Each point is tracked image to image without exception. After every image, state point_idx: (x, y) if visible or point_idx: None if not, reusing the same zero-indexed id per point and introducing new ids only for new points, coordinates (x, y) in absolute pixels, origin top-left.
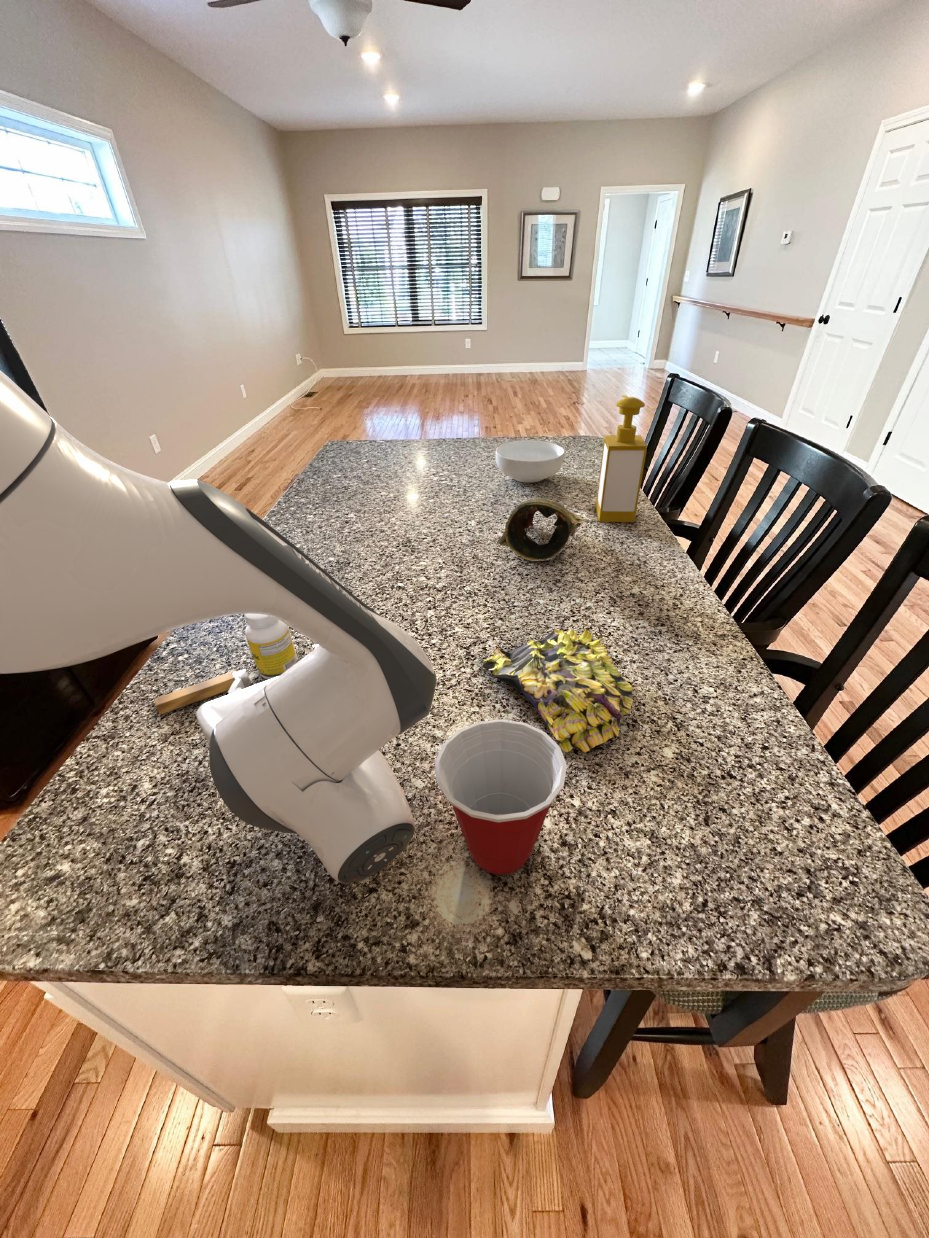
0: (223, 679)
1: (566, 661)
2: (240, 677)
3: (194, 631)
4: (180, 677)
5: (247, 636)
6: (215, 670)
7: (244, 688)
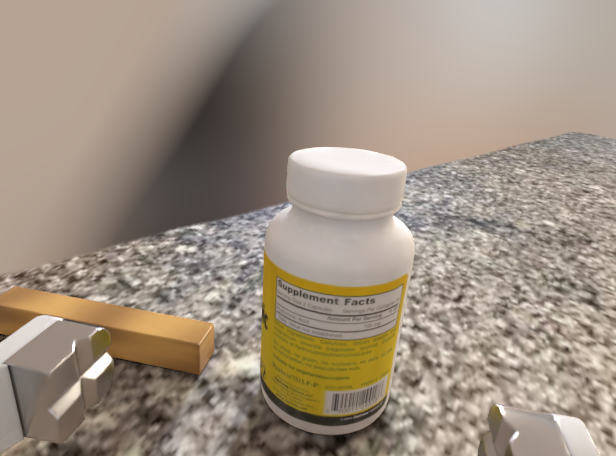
0: (163, 330)
1: None
2: (14, 358)
3: (246, 223)
4: (135, 278)
5: (267, 230)
6: (197, 301)
7: (18, 429)
